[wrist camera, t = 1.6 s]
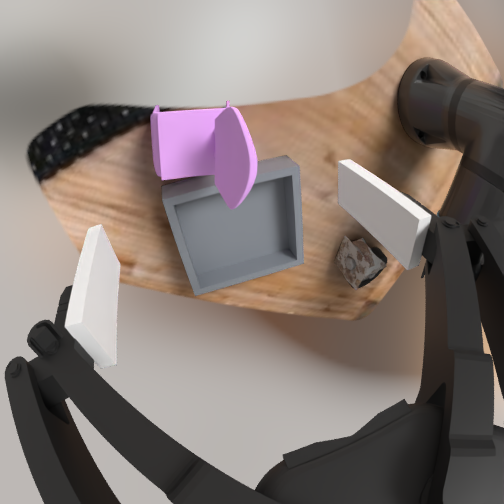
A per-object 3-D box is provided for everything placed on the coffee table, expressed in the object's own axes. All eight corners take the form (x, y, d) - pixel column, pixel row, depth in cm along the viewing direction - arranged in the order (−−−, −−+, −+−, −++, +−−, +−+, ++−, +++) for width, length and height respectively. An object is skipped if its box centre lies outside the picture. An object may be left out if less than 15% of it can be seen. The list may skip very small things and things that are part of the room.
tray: (286, 155, 37) (299, 165, 34) (293, 247, 46) (303, 263, 43) (161, 186, 34) (162, 200, 31) (191, 277, 44) (195, 295, 41)
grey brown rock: (364, 262, 57) (325, 279, 54) (384, 221, 49) (341, 235, 46) (383, 287, 53) (345, 306, 50) (408, 247, 45) (367, 266, 42)
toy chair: (150, 97, 28) (143, 118, 16) (229, 92, 30) (277, 112, 19) (155, 166, 33) (155, 231, 21) (228, 159, 35) (269, 218, 23)
